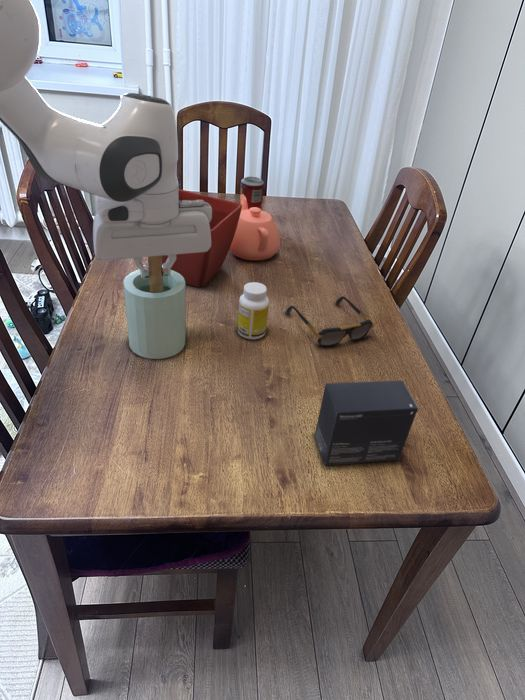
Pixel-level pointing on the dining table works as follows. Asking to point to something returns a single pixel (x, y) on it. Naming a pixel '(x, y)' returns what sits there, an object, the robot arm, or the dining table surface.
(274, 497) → the dining table surface
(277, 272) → the dining table surface
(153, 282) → the beige handle with collar
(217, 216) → the flower pot
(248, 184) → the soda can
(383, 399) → the small box
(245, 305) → the pill bottle
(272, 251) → the teapot
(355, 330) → the sunglasses
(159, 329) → the mint green tube
